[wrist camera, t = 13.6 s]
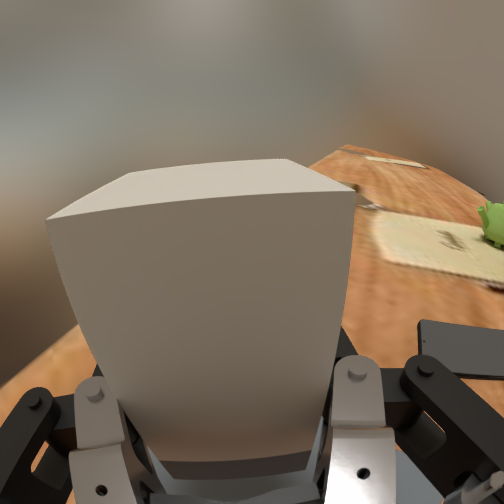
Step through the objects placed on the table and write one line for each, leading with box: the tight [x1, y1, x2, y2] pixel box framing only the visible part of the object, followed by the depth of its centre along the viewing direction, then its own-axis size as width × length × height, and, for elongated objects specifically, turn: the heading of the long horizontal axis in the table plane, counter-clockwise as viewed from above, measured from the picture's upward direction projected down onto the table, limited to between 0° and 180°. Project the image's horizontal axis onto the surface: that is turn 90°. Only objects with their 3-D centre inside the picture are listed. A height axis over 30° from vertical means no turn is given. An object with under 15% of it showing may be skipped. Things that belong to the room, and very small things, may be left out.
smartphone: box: [417, 319, 504, 380], centre depth 17 cm, size 7×1×15 cm
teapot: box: [477, 201, 504, 249], centre depth 37 cm, size 11×12×8 cm
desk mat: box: [147, 416, 443, 504], centre depth 12 cm, size 22×12×1 cm, turn 49°
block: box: [45, 159, 356, 480], centre depth 8 cm, size 5×5×10 cm
